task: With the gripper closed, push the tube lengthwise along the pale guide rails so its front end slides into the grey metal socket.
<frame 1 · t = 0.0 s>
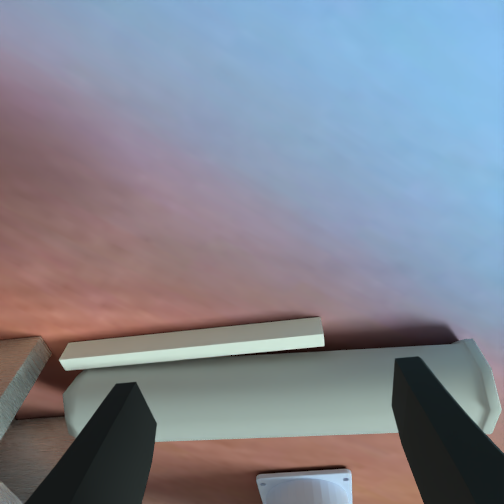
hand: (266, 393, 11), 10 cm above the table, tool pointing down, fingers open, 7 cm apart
tube: (263, 361, 26), on the table
guide rails: (204, 373, 26), on the table
socket: (26, 390, 27), on the table
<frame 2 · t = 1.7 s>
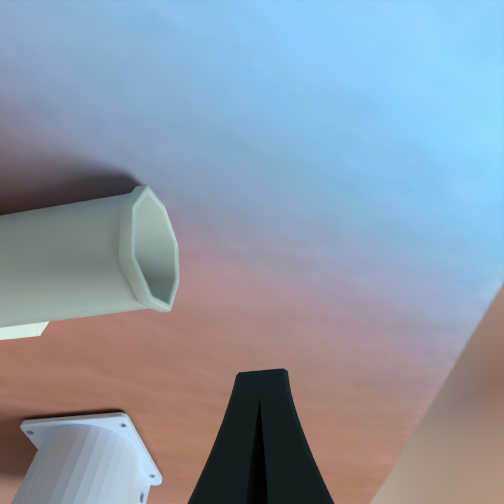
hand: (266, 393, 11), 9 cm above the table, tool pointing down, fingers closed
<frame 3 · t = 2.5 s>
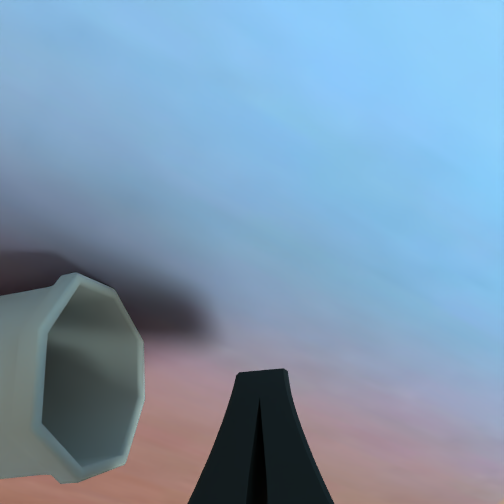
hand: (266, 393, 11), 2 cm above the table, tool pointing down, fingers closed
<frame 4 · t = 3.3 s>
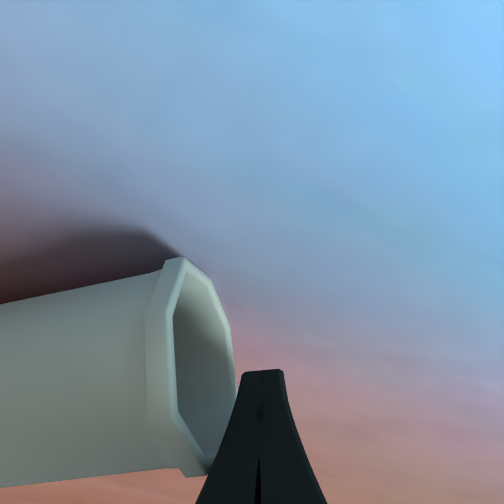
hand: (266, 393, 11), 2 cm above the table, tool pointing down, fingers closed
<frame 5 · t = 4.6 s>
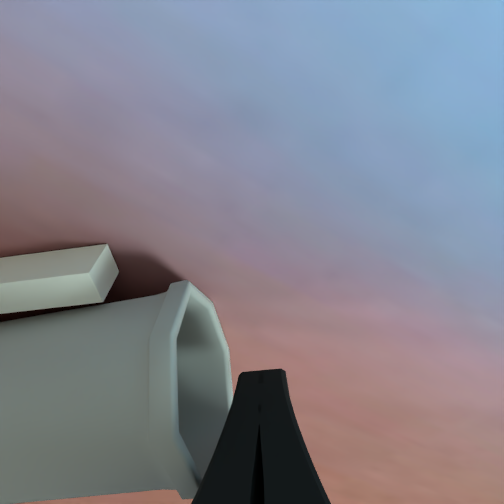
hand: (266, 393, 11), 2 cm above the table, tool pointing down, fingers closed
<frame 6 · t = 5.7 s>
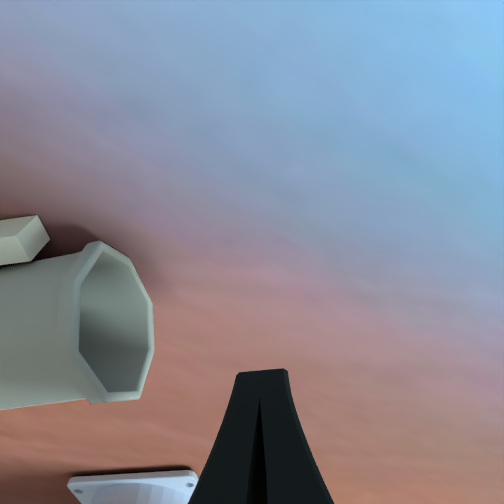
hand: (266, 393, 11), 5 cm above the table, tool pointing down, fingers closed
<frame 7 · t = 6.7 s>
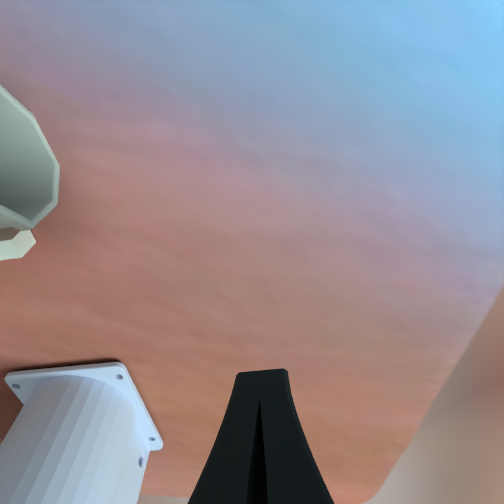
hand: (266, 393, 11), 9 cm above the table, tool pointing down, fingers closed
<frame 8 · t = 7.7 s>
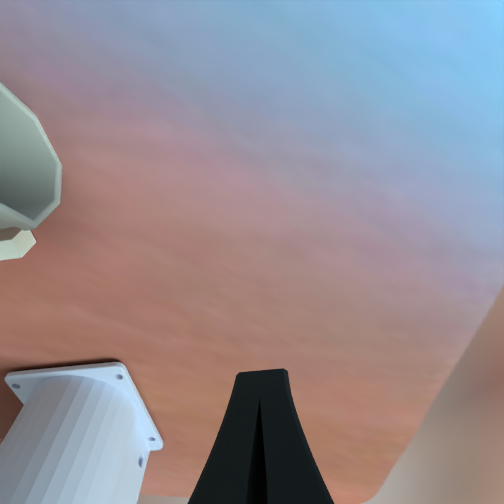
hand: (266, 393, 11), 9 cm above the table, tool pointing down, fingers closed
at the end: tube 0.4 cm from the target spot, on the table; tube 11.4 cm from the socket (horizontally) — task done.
